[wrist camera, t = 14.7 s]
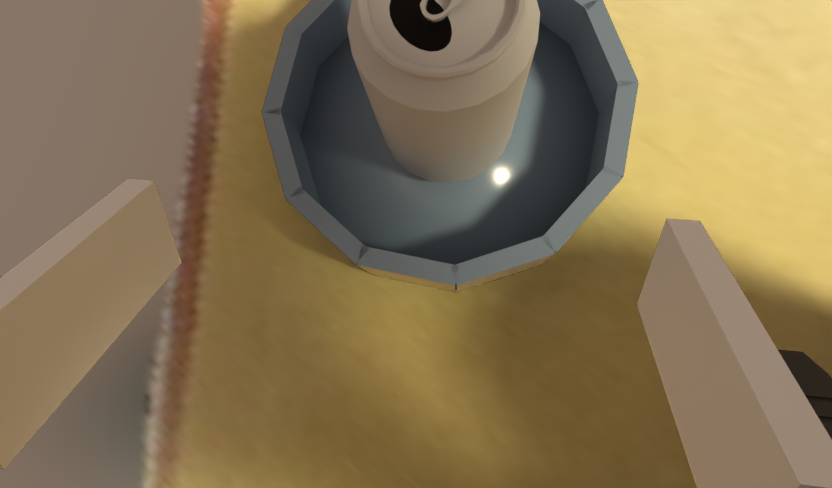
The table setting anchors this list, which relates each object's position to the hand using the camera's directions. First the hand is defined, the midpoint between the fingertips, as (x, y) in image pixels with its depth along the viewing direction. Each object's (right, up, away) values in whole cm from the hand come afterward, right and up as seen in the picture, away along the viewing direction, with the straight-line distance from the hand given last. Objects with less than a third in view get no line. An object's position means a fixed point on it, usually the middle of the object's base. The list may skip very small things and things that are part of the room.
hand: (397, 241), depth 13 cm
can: (+2, +7, +17) cm, 18 cm away
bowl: (+2, +7, +17) cm, 19 cm away
